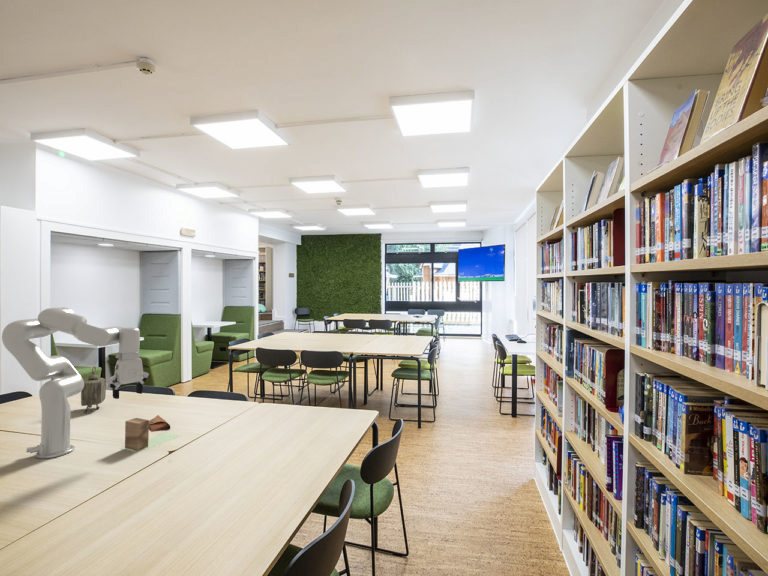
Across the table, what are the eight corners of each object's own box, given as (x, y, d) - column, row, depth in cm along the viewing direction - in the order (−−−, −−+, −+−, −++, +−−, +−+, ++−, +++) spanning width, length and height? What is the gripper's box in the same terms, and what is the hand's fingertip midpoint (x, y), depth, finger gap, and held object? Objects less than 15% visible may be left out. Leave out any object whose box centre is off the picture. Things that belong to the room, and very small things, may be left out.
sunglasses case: (141, 424, 204) (149, 411, 207) (154, 428, 209) (161, 416, 211) (151, 433, 192) (159, 420, 194) (165, 437, 196) (172, 424, 198)
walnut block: (137, 451, 169) (138, 423, 169) (124, 448, 172) (125, 421, 172) (148, 447, 174) (148, 420, 174) (135, 444, 177) (136, 417, 177)
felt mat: (137, 453, 168) (137, 452, 168) (120, 449, 172) (120, 448, 172) (181, 436, 188) (181, 435, 188) (164, 433, 192) (164, 432, 192)
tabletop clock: (87, 407, 232) (88, 365, 233) (105, 405, 236) (106, 364, 236) (80, 414, 219) (81, 369, 219) (100, 412, 223) (101, 368, 223)
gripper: (112, 360, 160) (111, 401, 160) (153, 354, 176) (152, 392, 176) (102, 358, 164) (101, 399, 164) (143, 353, 179) (142, 390, 179)
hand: (127, 395), depth 170 cm, fingers open, 9 cm apart
